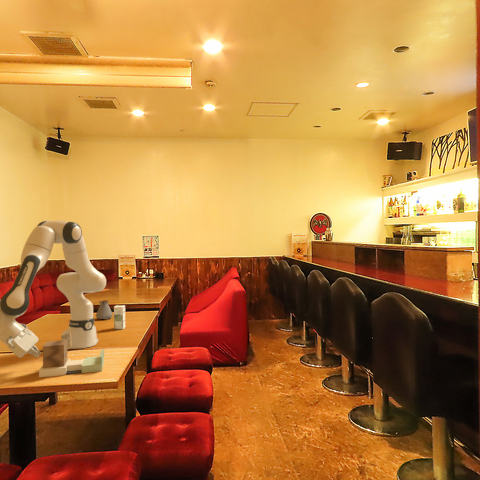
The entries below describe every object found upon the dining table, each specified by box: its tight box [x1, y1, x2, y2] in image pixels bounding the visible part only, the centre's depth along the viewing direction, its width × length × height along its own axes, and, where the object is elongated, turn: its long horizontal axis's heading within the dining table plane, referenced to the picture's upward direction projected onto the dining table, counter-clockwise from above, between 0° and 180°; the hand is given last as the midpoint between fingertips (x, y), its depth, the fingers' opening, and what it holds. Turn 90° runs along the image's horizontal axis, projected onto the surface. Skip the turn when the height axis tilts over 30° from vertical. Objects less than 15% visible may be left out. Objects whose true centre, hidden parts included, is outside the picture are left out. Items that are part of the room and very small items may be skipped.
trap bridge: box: [38, 349, 105, 378], centre depth 159 cm, size 24×12×6 cm, turn 106°
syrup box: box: [113, 304, 126, 330], centre depth 235 cm, size 6×6×14 cm
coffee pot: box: [95, 299, 114, 320], centre depth 261 cm, size 21×12×15 cm, turn 18°
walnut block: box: [42, 339, 68, 368], centre depth 158 cm, size 8×8×9 cm
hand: (39, 355), depth 156 cm, fingers closed
